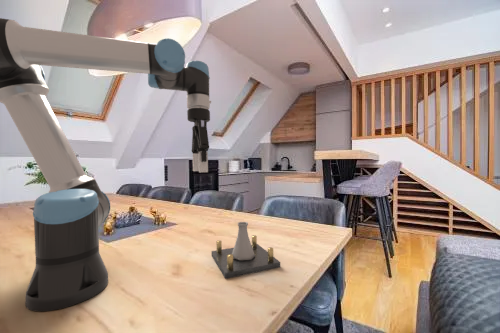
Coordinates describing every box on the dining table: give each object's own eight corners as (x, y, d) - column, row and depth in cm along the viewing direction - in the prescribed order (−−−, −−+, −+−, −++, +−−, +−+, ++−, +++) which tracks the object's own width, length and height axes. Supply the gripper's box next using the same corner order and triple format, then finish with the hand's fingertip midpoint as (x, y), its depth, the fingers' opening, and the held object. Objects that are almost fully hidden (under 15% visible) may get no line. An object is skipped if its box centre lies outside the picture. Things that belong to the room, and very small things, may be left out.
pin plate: (225, 278, 59) (224, 259, 59) (211, 255, 74) (211, 240, 73) (280, 267, 65) (280, 249, 65) (257, 248, 79) (257, 233, 79)
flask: (253, 262, 65) (252, 226, 65) (228, 260, 66) (227, 225, 66) (257, 252, 72) (256, 220, 72) (234, 251, 73) (234, 219, 73)
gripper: (218, 101, 68) (219, 172, 69) (203, 117, 92) (204, 170, 92) (192, 98, 66) (194, 173, 66) (183, 116, 89) (184, 171, 89)
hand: (199, 171), depth 79 cm, fingers open, 13 cm apart
